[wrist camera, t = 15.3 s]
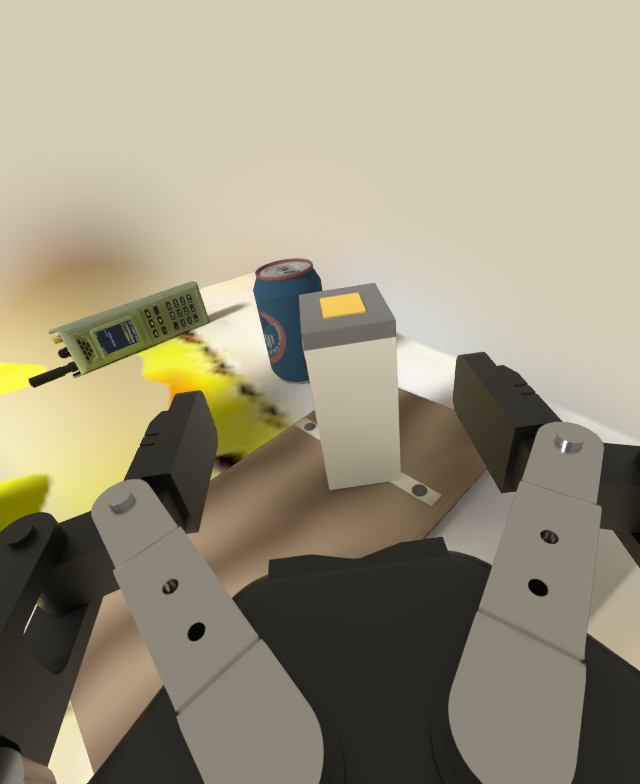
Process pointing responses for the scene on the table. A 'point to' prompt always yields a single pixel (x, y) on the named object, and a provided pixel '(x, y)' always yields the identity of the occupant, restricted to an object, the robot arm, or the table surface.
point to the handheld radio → (126, 330)
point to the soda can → (285, 314)
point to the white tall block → (353, 383)
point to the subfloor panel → (279, 541)
